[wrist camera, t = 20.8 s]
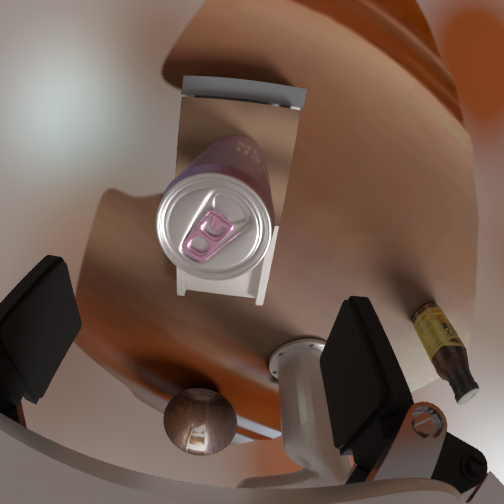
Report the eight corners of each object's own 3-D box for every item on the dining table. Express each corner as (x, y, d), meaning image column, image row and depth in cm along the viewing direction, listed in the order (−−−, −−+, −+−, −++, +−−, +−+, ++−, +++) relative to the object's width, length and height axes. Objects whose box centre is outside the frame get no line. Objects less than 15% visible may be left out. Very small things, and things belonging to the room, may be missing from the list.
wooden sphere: (232, 373, 52) (228, 441, 39) (242, 408, 60) (240, 465, 47) (161, 373, 53) (145, 435, 40) (181, 408, 60) (172, 461, 47)
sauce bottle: (442, 310, 45) (489, 388, 28) (418, 330, 47) (458, 412, 30) (430, 294, 43) (483, 379, 26) (404, 316, 45) (447, 406, 28)
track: (262, 292, 42) (263, 315, 38) (181, 282, 41) (173, 304, 37) (298, 91, 28) (306, 89, 24) (193, 79, 28) (183, 75, 23)
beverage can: (191, 168, 27) (131, 238, 13) (231, 121, 24) (199, 141, 11) (239, 205, 28) (223, 302, 15) (279, 161, 26) (303, 226, 13)
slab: (276, 209, 34) (279, 226, 30) (184, 198, 33) (174, 213, 29) (293, 109, 28) (300, 110, 24) (192, 97, 27) (182, 96, 23)
